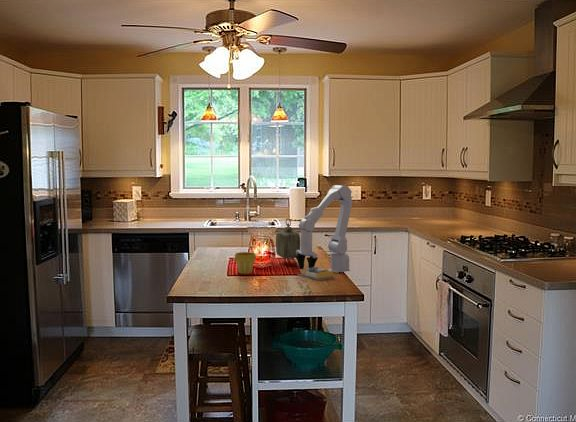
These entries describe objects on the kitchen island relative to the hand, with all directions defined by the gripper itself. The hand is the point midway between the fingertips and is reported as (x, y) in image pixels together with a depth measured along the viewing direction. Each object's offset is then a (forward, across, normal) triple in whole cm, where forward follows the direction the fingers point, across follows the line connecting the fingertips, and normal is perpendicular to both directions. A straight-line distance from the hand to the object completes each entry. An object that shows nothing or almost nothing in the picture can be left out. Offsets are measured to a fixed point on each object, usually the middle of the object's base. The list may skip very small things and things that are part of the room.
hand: (306, 270), depth 268 cm
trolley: (+1, +9, 0) cm, 9 cm away
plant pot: (+2, -21, -22) cm, 31 cm away
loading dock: (+2, +7, 0) cm, 7 cm away
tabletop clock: (+2, -28, +10) cm, 30 cm away
